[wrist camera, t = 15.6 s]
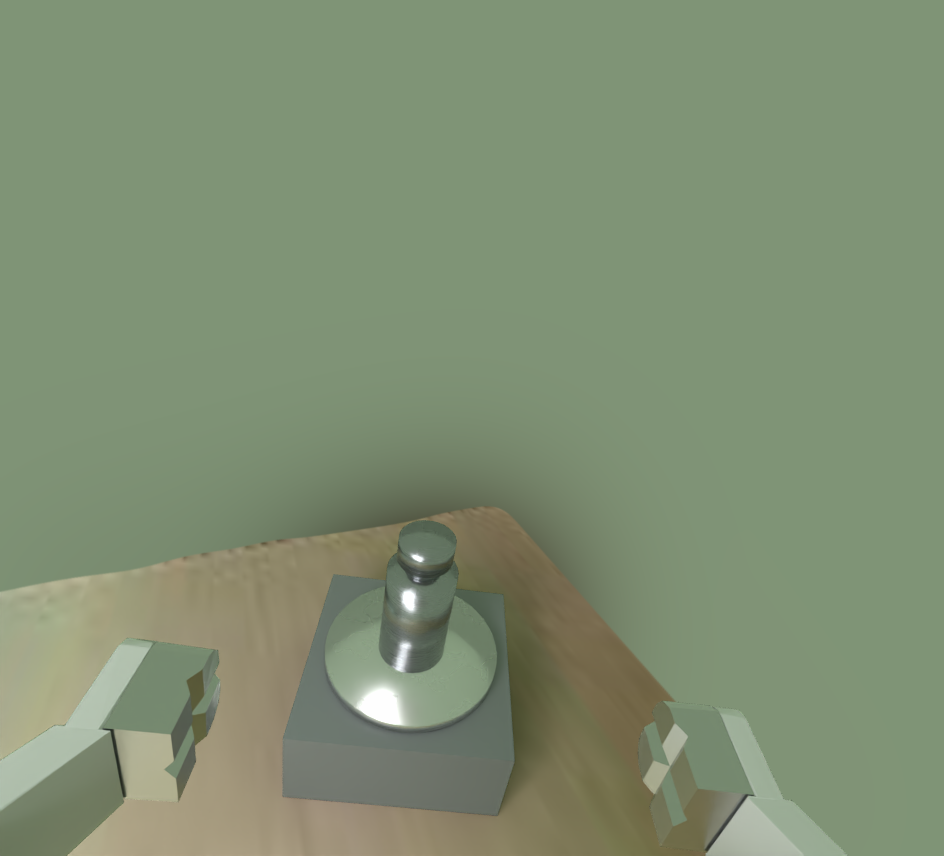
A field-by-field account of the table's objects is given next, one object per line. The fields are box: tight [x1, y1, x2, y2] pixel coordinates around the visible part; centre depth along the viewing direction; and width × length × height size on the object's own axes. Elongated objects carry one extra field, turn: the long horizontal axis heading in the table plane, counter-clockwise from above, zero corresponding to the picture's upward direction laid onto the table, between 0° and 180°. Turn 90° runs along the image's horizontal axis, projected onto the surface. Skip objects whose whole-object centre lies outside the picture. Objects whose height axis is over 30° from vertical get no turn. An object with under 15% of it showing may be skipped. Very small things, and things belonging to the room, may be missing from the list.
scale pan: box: [324, 587, 497, 733], centre depth 40 cm, size 12×12×1 cm
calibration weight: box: [379, 520, 458, 673], centre depth 38 cm, size 5×5×10 cm
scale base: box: [283, 574, 515, 816], centre depth 42 cm, size 14×14×6 cm
